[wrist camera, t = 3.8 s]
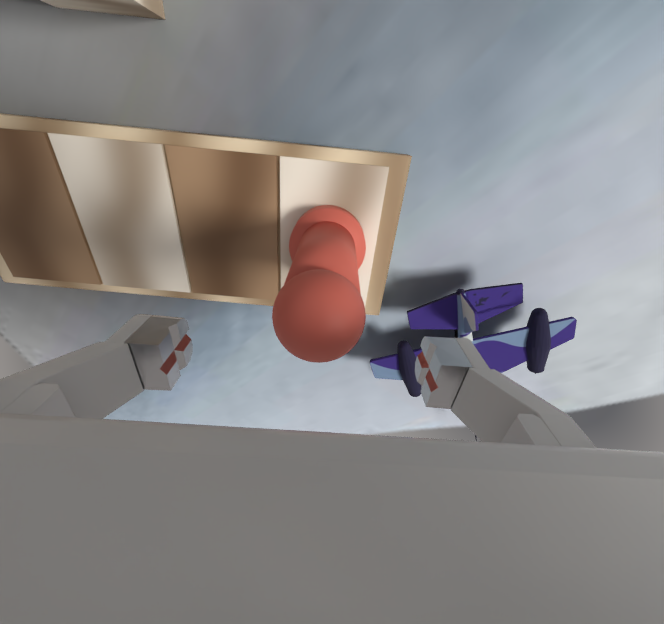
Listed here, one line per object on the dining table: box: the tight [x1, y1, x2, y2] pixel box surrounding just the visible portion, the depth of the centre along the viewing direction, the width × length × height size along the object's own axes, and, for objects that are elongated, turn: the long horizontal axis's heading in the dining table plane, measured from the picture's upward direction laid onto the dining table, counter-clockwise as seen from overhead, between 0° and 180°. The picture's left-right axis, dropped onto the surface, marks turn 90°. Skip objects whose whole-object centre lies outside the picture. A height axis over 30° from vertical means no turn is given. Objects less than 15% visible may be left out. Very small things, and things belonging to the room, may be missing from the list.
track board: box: [0, 113, 412, 315], centre depth 18 cm, size 26×10×1 cm, turn 85°
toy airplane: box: [370, 283, 577, 437], centre depth 22 cm, size 13×14×4 cm
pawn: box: [272, 205, 366, 362], centre depth 13 cm, size 4×4×10 cm
